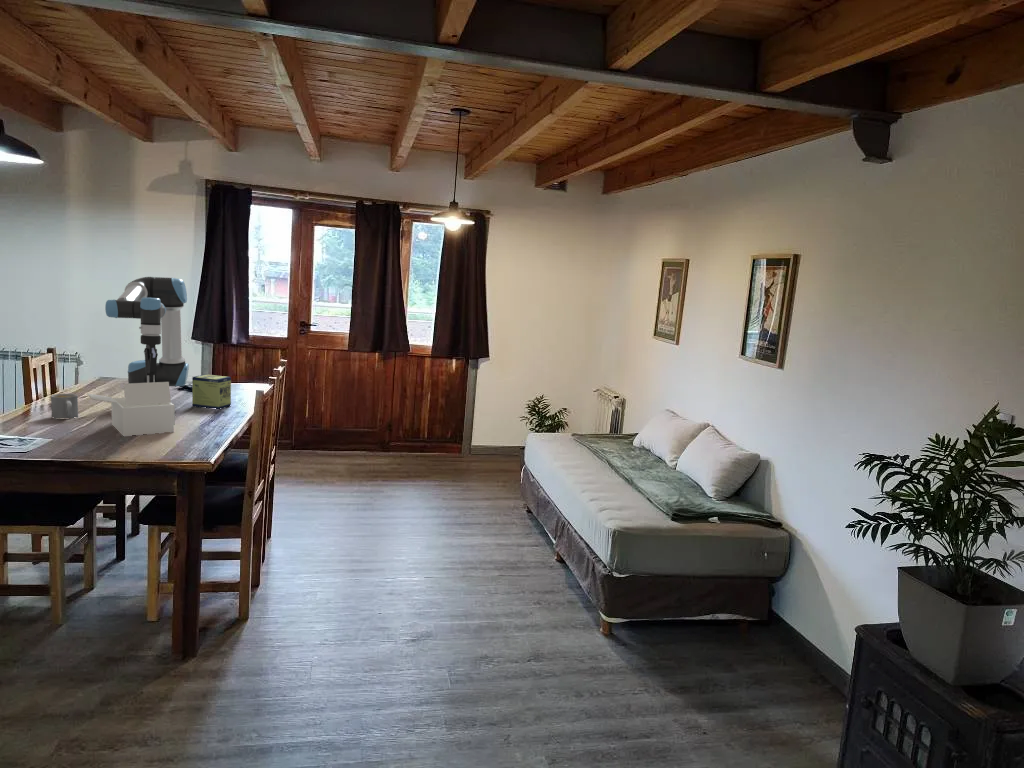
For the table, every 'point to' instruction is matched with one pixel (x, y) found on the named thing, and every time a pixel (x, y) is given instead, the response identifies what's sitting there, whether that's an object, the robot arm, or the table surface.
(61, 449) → the table surface
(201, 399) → the protein box
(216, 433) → the table surface
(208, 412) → the table surface
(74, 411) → the coffee mug
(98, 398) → the side flap
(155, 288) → the robot arm
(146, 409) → the carton
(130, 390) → the front flap
